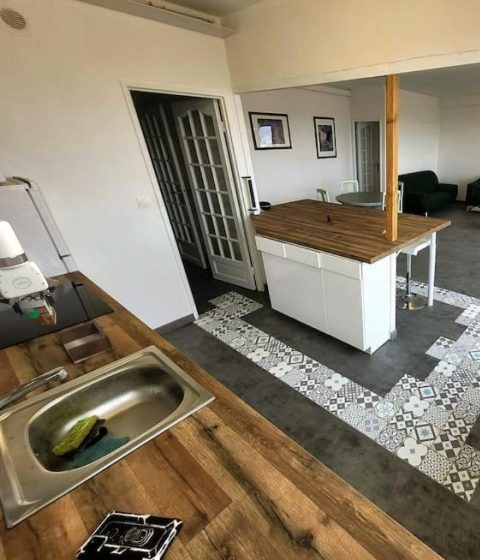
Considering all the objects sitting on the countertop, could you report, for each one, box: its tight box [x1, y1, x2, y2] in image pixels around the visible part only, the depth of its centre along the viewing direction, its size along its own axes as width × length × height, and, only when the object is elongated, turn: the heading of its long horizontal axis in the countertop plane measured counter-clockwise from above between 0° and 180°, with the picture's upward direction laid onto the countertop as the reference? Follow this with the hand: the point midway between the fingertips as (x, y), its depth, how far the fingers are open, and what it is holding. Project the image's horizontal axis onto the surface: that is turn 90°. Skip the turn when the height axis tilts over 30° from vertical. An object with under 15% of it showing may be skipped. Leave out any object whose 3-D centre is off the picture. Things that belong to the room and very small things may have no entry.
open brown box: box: [57, 320, 114, 364], centre depth 117 cm, size 11×17×6 cm, turn 53°
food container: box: [17, 291, 57, 327], centre depth 105 cm, size 12×6×10 cm, turn 44°
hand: (36, 309), depth 105 cm, fingers closed on food container, 6 cm apart
